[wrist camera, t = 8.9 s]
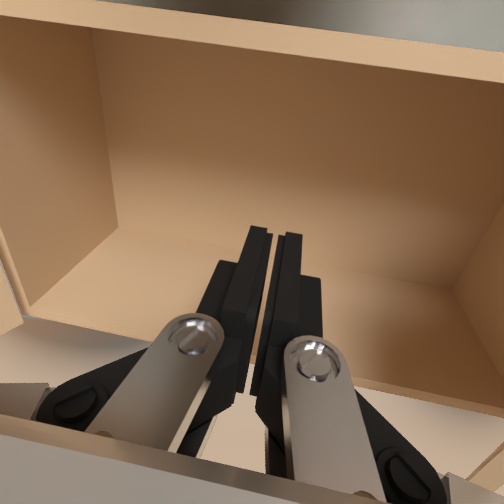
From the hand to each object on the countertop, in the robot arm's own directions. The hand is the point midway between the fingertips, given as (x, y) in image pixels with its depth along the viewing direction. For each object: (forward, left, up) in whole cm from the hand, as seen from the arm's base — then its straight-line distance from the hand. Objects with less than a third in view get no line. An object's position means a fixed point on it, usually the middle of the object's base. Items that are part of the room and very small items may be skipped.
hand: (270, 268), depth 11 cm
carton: (0, 0, -10) cm, 10 cm away
